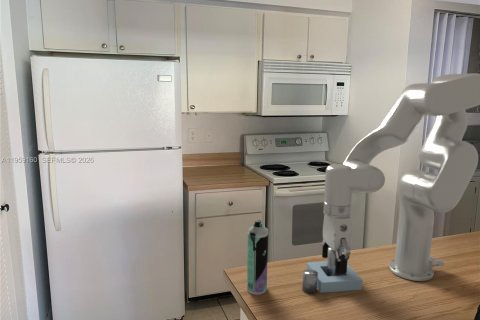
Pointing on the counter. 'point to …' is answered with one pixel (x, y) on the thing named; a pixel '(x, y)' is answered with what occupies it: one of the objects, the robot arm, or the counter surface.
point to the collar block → (335, 279)
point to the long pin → (332, 262)
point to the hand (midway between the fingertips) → (333, 264)
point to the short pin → (310, 281)
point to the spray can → (257, 259)
